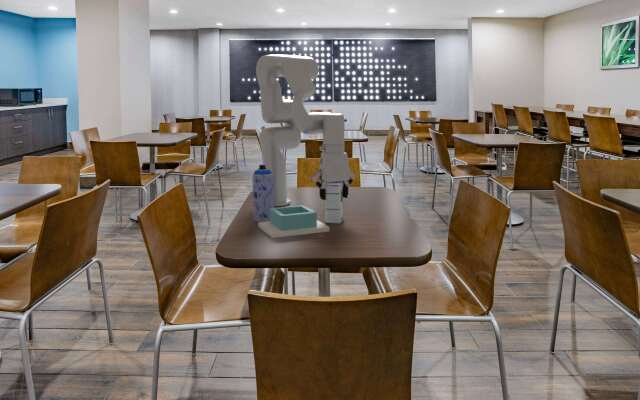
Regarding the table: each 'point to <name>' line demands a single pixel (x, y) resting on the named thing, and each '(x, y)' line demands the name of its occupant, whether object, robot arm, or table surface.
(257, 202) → the aerosol can
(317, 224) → the socket board
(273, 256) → the table surface
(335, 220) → the syrup box
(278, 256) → the table surface
